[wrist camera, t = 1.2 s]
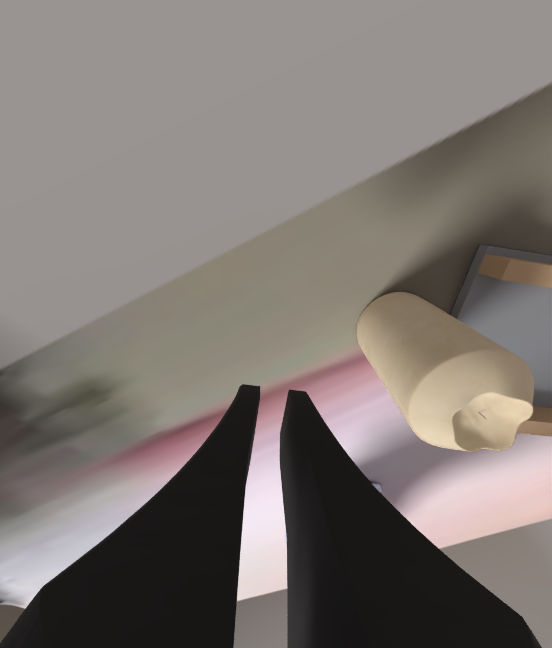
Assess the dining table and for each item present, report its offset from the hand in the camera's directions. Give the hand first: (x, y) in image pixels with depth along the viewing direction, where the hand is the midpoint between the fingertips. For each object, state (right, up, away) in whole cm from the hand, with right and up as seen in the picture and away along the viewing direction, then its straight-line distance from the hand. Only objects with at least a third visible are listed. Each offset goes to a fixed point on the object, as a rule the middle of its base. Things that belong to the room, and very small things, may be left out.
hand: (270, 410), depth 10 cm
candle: (+9, +3, +10) cm, 14 cm away
